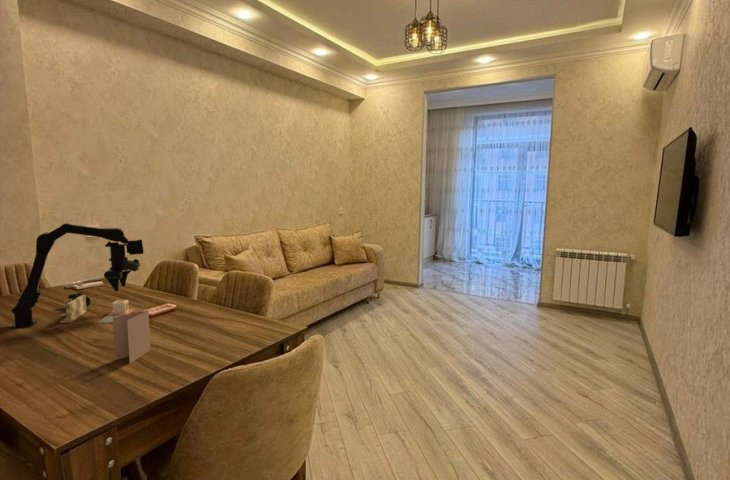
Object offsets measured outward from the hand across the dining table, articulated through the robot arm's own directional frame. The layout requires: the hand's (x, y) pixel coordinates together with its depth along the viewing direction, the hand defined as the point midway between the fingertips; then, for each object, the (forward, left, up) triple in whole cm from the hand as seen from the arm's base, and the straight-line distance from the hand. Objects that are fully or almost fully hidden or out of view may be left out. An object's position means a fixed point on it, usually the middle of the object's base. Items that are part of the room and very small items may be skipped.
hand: (120, 288), depth 184 cm
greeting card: (-55, -22, -12) cm, 60 cm away
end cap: (+13, +22, -12) cm, 28 cm away
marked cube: (0, 0, -11) cm, 11 cm away
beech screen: (-3, +19, -12) cm, 22 cm away
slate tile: (-10, 0, -12) cm, 15 cm away
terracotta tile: (0, 0, -12) cm, 12 cm away
